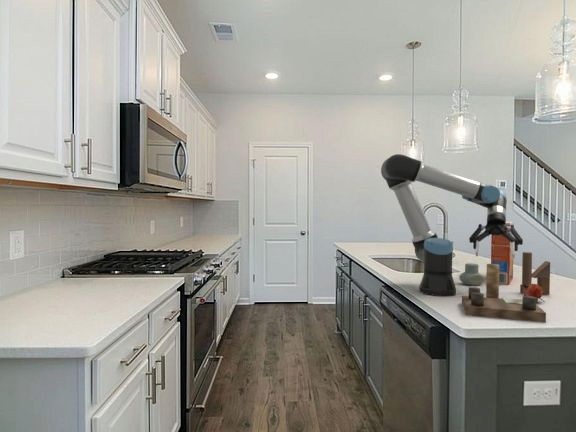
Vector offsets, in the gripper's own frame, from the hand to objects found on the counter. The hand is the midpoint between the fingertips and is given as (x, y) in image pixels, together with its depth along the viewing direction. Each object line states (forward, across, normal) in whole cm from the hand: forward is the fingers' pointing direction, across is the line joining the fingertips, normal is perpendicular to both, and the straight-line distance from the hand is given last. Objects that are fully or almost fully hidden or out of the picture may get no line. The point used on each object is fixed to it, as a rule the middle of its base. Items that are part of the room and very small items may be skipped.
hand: (494, 255), depth 166 cm
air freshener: (-6, +11, -31) cm, 33 cm away
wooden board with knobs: (+30, -3, +6) cm, 31 cm away
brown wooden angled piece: (0, -15, -25) cm, 29 cm away
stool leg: (+20, 0, -5) cm, 21 cm away
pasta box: (-19, -2, -45) cm, 49 cm away
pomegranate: (+13, -14, -13) cm, 23 cm away
